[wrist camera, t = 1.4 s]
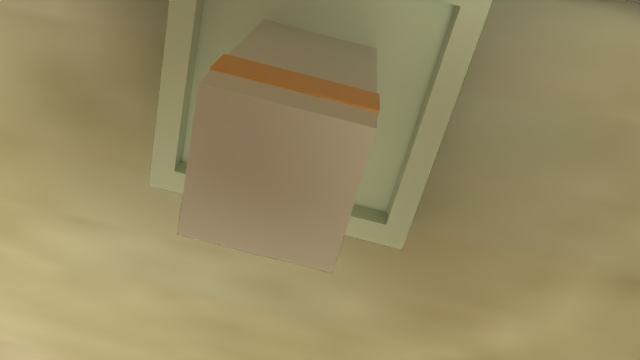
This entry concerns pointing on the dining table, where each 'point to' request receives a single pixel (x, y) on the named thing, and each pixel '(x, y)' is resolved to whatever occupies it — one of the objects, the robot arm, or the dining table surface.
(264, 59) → the plug
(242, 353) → the dining table surface
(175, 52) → the tray
